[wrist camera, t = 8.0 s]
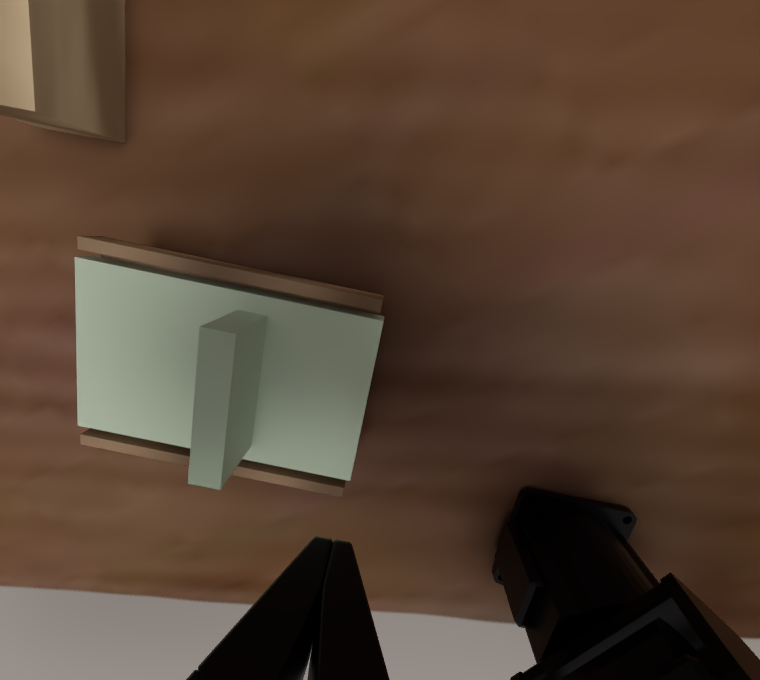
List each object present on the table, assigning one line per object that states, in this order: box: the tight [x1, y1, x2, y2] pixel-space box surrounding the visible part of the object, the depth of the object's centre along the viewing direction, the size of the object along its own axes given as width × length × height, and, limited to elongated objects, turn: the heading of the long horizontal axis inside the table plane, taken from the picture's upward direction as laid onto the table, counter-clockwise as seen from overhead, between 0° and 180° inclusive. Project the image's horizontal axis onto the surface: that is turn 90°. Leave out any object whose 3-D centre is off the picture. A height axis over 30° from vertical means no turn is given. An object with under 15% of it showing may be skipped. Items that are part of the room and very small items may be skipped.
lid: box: [75, 256, 384, 490], centre depth 15 cm, size 12×8×4 cm, turn 78°
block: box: [0, 0, 126, 144], centre depth 14 cm, size 4×7×5 cm, turn 170°
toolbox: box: [77, 236, 384, 497], centre depth 18 cm, size 12×9×4 cm
